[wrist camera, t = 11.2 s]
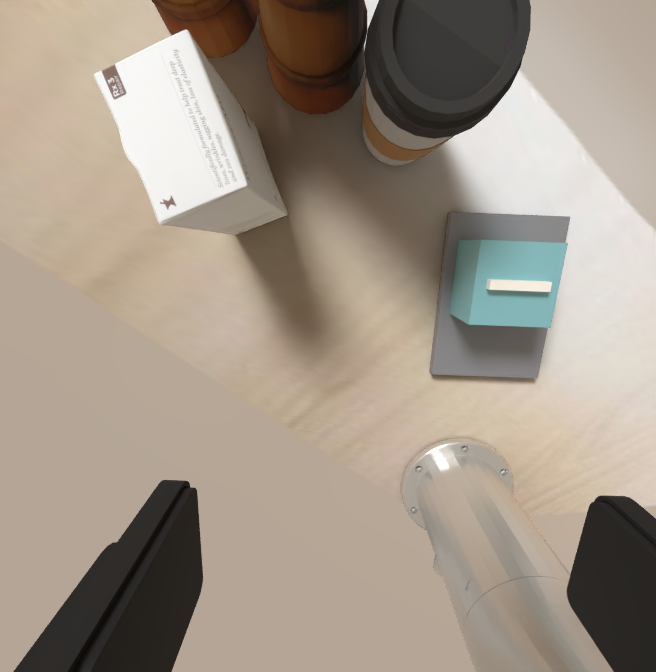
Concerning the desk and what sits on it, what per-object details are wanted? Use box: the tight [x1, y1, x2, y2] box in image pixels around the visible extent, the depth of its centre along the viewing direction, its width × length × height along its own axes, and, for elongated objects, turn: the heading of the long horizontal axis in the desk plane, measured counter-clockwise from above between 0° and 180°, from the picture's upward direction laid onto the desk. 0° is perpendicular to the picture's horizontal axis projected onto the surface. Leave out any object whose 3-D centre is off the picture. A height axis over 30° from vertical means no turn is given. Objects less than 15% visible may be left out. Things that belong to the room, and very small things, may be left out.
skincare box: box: [94, 30, 287, 235], centre depth 25 cm, size 8×6×15 cm
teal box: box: [449, 240, 568, 328], centre depth 31 cm, size 7×7×6 cm
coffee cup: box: [362, 0, 531, 166], centre depth 24 cm, size 8×8×15 cm
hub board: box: [430, 212, 570, 378], centre depth 33 cm, size 16×11×5 cm
